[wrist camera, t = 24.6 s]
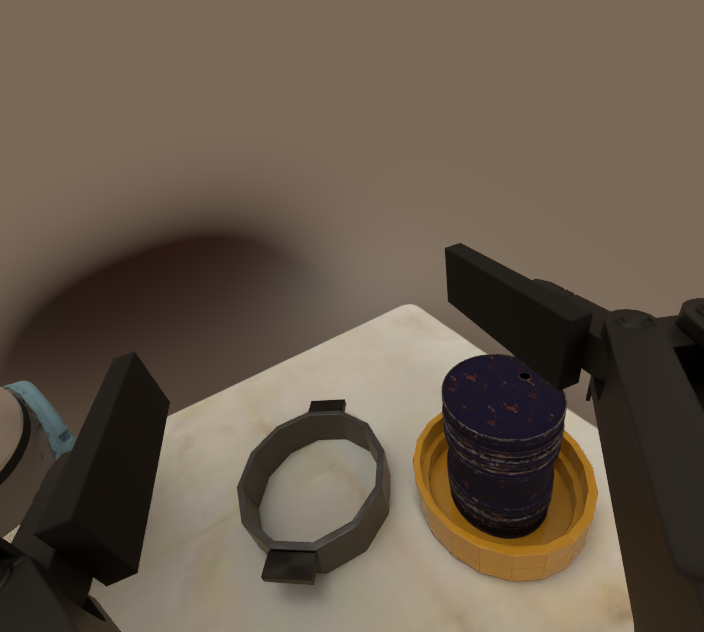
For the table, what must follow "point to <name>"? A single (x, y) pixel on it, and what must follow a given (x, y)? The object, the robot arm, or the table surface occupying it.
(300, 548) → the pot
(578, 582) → the table surface
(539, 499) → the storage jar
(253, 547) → the table surface
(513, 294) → the robot arm
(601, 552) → the table surface
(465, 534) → the bowl
